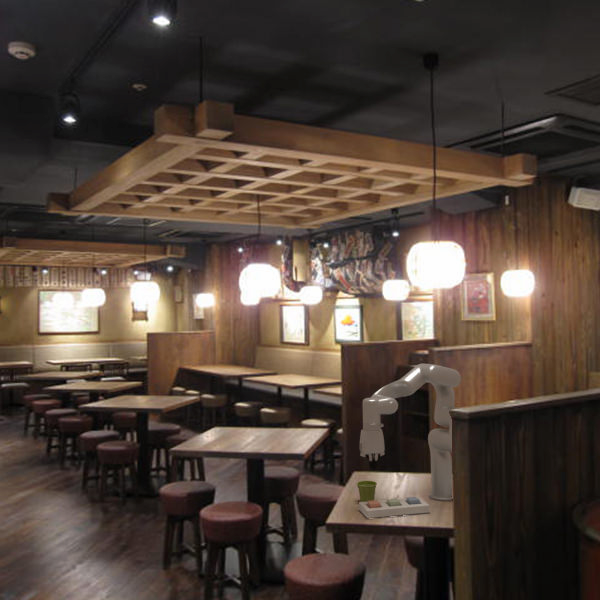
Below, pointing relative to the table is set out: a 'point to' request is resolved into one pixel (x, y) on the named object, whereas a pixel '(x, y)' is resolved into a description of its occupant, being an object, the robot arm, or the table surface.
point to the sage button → (393, 502)
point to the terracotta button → (373, 504)
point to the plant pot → (366, 490)
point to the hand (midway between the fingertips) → (372, 469)
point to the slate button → (413, 500)
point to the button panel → (394, 509)
